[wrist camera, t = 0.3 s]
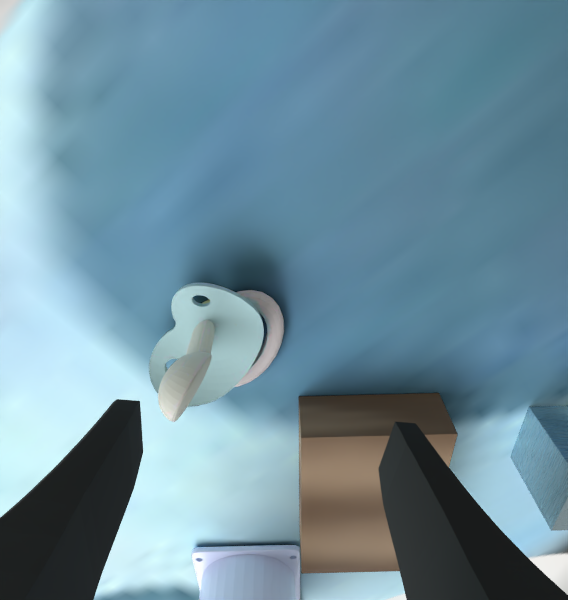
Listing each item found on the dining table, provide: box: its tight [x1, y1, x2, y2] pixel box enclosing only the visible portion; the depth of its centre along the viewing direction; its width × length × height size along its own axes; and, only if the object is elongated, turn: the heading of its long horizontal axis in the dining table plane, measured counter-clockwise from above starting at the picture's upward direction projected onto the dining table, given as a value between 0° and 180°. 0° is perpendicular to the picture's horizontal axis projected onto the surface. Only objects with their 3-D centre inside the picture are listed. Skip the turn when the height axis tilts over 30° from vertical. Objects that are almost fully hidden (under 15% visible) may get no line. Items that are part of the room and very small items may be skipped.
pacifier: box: [149, 283, 284, 422], centre depth 20 cm, size 7×6×6 cm
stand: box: [299, 393, 457, 573], centre depth 27 cm, size 13×8×3 cm, turn 1°
